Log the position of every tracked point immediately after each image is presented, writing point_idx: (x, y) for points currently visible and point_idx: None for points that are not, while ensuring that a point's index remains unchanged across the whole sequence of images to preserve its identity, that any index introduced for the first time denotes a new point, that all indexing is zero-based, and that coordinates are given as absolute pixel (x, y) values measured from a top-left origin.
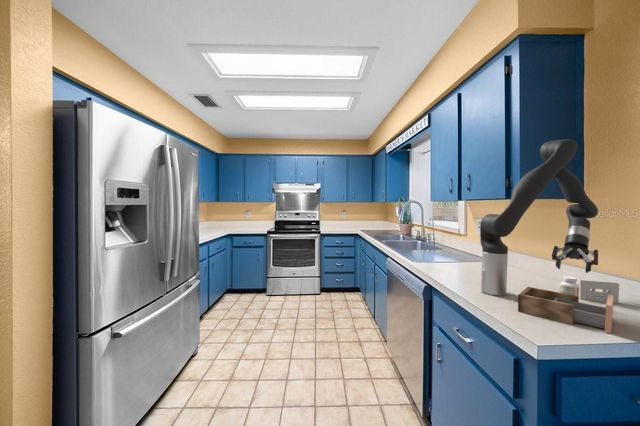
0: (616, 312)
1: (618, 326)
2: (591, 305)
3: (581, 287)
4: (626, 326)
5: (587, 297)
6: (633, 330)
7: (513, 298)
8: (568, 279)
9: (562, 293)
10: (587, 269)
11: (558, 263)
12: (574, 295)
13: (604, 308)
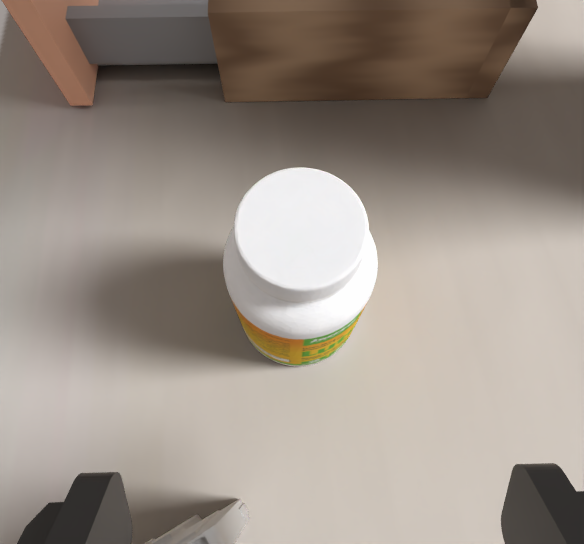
0: (30, 302)
1: None
2: (145, 5)
3: (221, 516)
4: (25, 64)
5: (187, 524)
6: (6, 30)
7: (577, 113)
8: (306, 174)
9: (305, 3)
10: (83, 473)
11: (577, 513)
12: (233, 10)
13: (83, 8)
